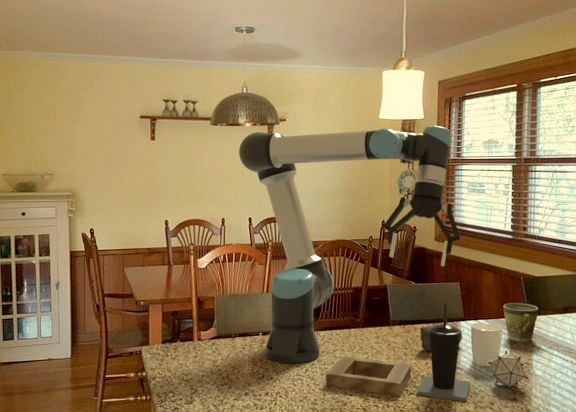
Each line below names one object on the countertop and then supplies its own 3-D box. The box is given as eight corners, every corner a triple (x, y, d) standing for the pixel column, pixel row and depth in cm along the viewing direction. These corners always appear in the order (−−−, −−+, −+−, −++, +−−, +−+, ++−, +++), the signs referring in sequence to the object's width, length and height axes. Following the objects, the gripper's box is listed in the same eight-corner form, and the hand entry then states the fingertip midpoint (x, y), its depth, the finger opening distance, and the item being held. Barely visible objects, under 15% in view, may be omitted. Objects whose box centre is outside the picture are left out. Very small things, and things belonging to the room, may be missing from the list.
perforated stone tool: (456, 343, 180) (456, 321, 180) (467, 348, 176) (468, 325, 175) (413, 349, 175) (414, 326, 174) (424, 355, 170) (424, 330, 169)
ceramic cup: (498, 333, 191) (499, 302, 190) (530, 334, 190) (531, 303, 189) (511, 346, 178) (512, 313, 177) (546, 346, 177) (547, 313, 177)
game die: (502, 398, 148) (498, 358, 154) (535, 393, 143) (530, 353, 148) (484, 387, 143) (480, 347, 149) (518, 383, 138) (513, 341, 143)
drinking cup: (437, 393, 139) (438, 308, 138) (421, 381, 147) (423, 300, 145) (466, 390, 141) (468, 306, 140) (449, 378, 149) (451, 299, 147)
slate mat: (417, 394, 141) (417, 391, 141) (424, 378, 151) (424, 375, 151) (466, 401, 137) (466, 398, 137) (470, 384, 147) (470, 381, 147)
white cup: (502, 368, 158) (503, 331, 158) (471, 366, 160) (472, 329, 159) (498, 359, 166) (499, 323, 165) (468, 357, 168) (469, 322, 167)
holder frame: (326, 385, 146) (326, 373, 146) (342, 367, 159) (342, 356, 159) (400, 396, 140) (400, 383, 139) (410, 376, 153) (410, 364, 152)
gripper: (477, 192, 162) (465, 270, 160) (386, 180, 170) (373, 254, 168) (477, 187, 155) (464, 268, 153) (381, 175, 163) (368, 252, 161)
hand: (416, 261), depth 160 cm, fingers open, 13 cm apart
